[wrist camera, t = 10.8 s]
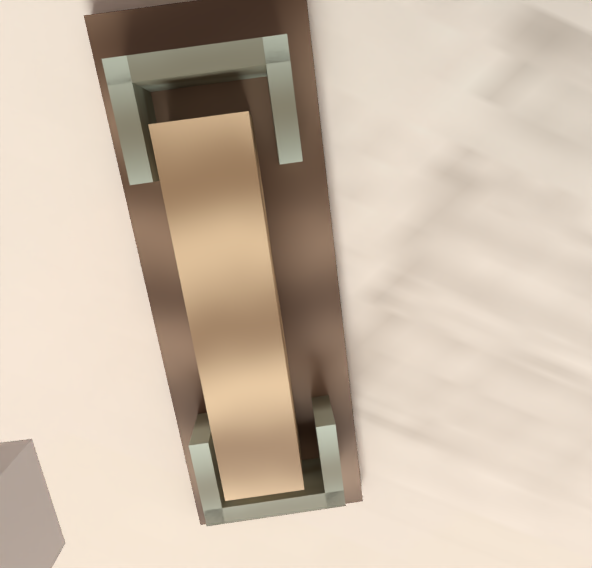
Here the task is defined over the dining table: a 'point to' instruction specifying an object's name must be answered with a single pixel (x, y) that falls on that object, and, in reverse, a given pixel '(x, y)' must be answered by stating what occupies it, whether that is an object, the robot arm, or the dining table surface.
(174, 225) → the slat
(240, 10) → the cradle
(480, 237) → the dining table surface
